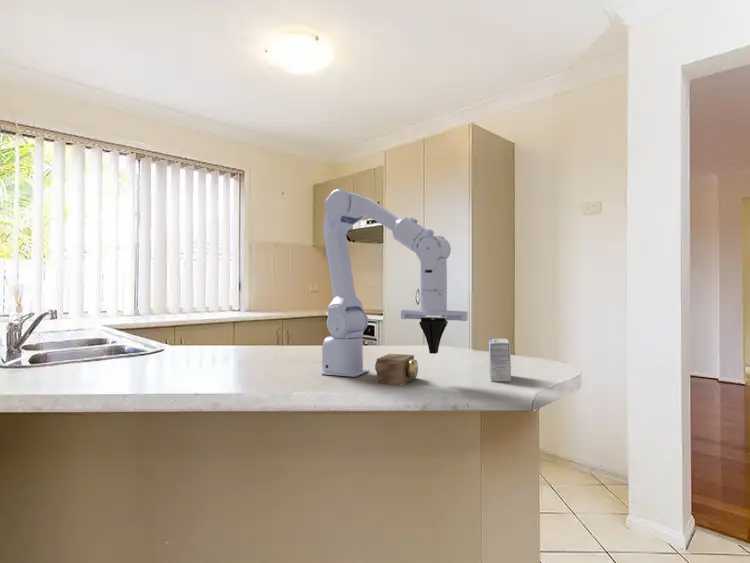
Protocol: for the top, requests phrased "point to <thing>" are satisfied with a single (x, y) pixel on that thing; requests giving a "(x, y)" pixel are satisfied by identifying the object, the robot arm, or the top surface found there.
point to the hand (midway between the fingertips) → (433, 352)
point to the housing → (393, 368)
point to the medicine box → (499, 360)
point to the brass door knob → (409, 368)
